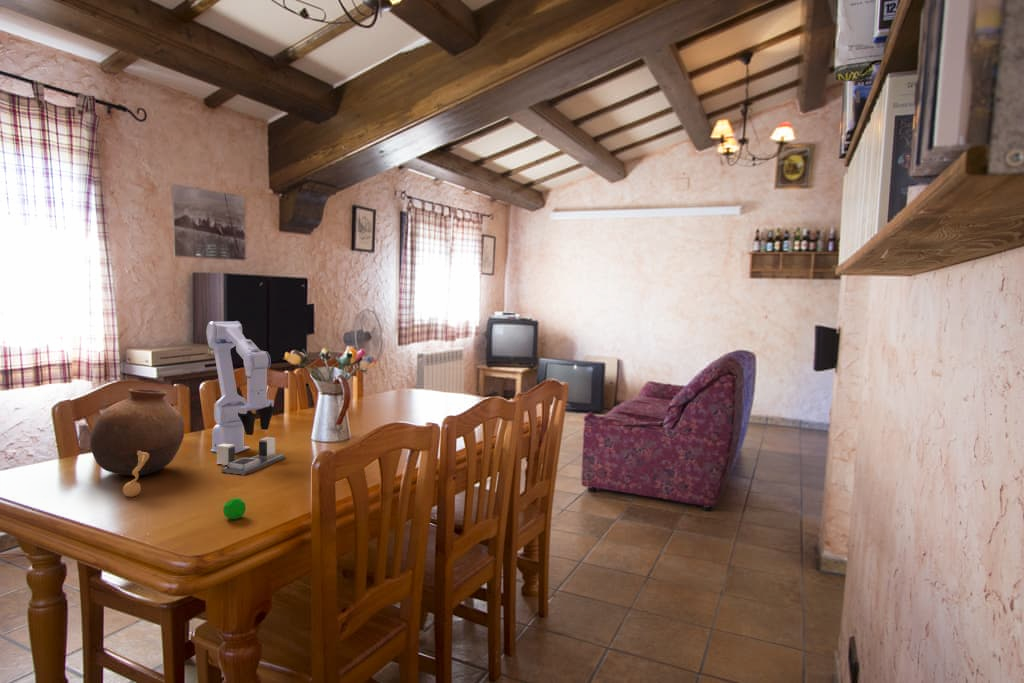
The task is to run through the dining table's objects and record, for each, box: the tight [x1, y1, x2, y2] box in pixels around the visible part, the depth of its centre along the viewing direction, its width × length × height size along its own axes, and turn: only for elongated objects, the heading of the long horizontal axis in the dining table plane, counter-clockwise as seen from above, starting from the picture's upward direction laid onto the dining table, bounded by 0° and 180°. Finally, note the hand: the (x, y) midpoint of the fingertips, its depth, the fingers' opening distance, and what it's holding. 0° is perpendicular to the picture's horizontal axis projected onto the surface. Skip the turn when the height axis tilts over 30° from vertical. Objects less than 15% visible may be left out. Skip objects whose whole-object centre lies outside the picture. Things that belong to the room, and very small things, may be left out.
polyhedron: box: [222, 497, 247, 520], centre depth 144 cm, size 5×5×5 cm
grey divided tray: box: [220, 436, 286, 476], centre depth 188 cm, size 8×20×7 cm, turn 166°
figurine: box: [122, 451, 149, 498], centre depth 157 cm, size 8×6×12 cm
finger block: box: [216, 444, 236, 466], centre depth 188 cm, size 3×4×6 cm
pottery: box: [89, 388, 186, 477], centre depth 175 cm, size 23×23×25 cm
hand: (257, 432), depth 191 cm, fingers open, 7 cm apart
